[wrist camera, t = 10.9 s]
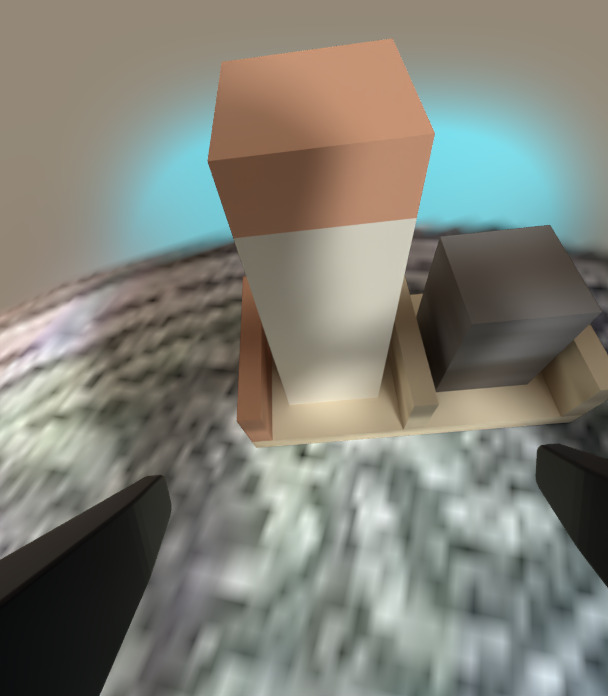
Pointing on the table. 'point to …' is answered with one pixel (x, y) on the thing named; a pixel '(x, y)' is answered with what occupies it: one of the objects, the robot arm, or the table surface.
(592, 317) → the comb rack
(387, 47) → the plug
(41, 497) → the table surface
